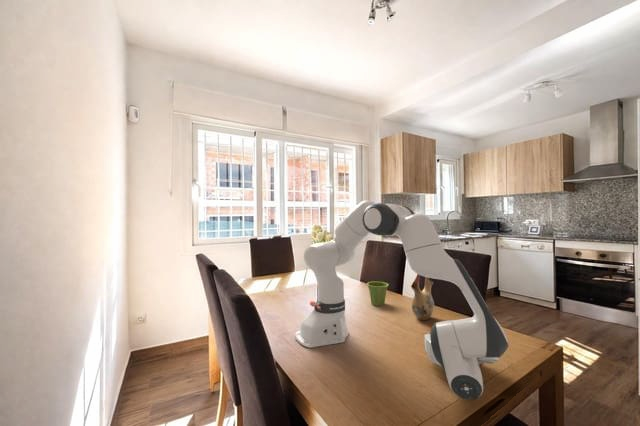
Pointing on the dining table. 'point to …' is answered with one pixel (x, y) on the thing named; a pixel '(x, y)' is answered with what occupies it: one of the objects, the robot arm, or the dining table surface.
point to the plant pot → (377, 292)
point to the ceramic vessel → (422, 299)
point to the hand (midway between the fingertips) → (455, 336)
